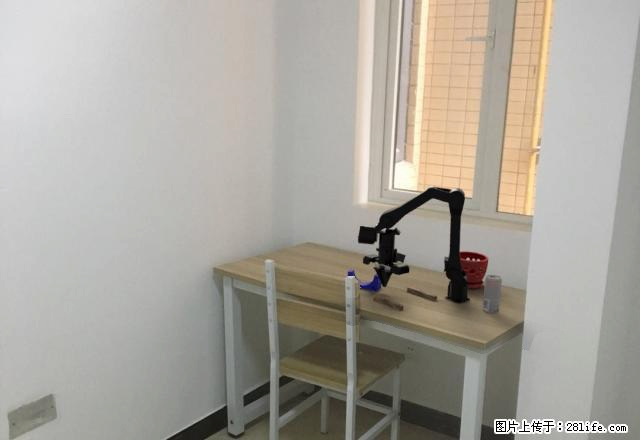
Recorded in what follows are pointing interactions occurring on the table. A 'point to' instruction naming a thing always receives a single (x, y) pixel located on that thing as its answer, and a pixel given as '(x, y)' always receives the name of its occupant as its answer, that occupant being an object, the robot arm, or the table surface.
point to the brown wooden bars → (400, 307)
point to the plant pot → (474, 267)
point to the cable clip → (373, 285)
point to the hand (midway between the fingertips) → (384, 286)
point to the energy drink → (492, 294)
